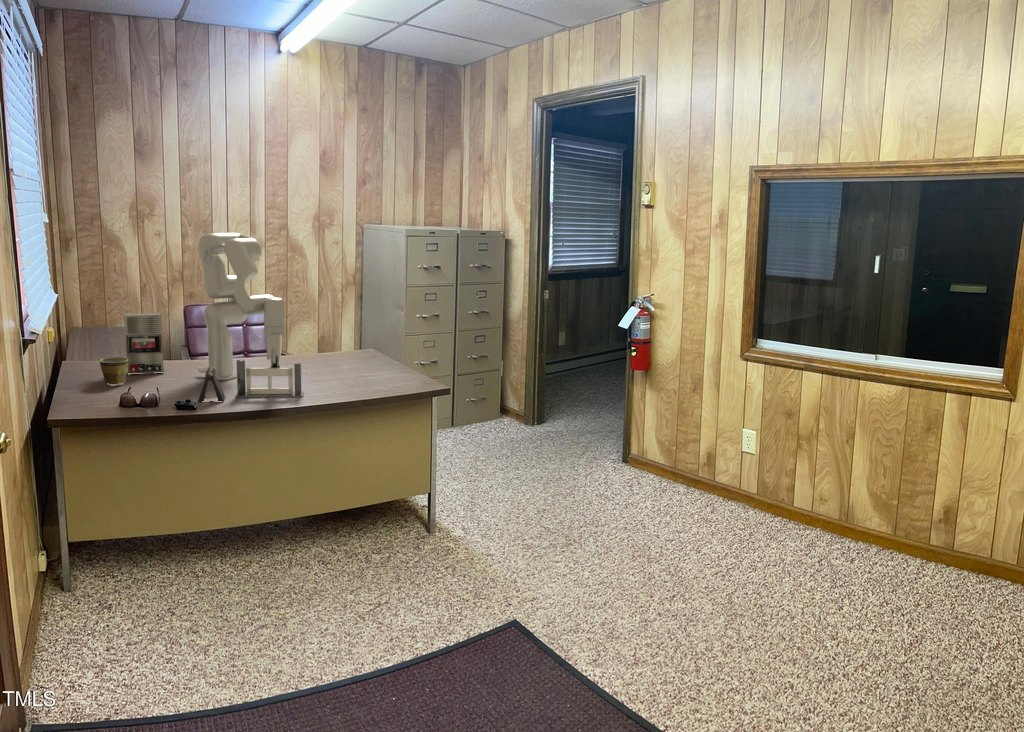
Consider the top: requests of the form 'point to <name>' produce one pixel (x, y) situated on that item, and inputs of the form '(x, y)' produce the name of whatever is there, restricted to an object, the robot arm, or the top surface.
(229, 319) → the robot arm
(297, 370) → the gate frame
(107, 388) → the top surface
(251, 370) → the gate
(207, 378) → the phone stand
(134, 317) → the cassette tape recorder
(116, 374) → the ceramic cup
